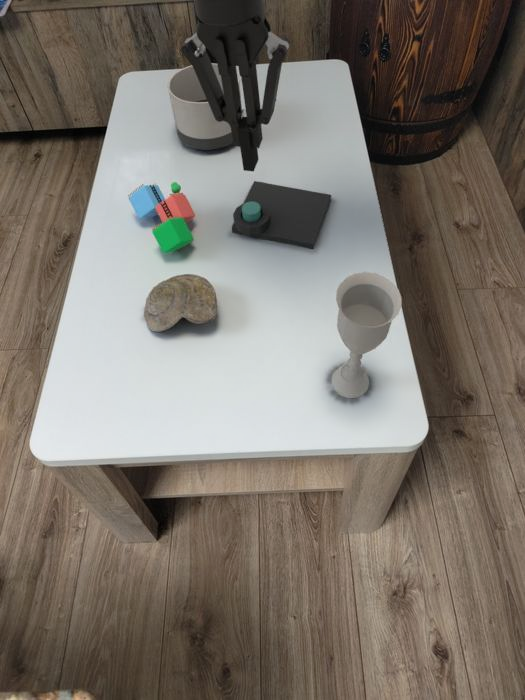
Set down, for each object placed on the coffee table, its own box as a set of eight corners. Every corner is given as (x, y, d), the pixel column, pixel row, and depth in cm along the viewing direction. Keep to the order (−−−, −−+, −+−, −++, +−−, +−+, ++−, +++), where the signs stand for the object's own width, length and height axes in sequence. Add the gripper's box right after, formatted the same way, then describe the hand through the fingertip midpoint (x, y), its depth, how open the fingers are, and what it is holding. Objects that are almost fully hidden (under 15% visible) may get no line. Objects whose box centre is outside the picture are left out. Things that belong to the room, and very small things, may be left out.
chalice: (323, 358, 69) (333, 272, 54) (372, 357, 69) (396, 271, 54) (326, 406, 66) (338, 327, 50) (378, 405, 65) (406, 326, 50)
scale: (331, 200, 86) (332, 186, 84) (311, 253, 80) (312, 240, 78) (254, 186, 89) (253, 172, 87) (229, 236, 83) (228, 223, 80)
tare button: (263, 211, 82) (262, 203, 80) (257, 224, 80) (257, 215, 79) (246, 208, 83) (245, 199, 81) (240, 220, 81) (239, 212, 80)
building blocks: (174, 257, 87) (141, 194, 86) (208, 236, 83) (174, 169, 82) (146, 265, 80) (110, 196, 79) (182, 242, 76) (144, 169, 75)
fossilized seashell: (174, 266, 77) (173, 248, 71) (230, 305, 77) (234, 291, 71) (132, 320, 75) (126, 306, 68) (190, 360, 75) (190, 351, 68)
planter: (215, 107, 103) (208, 55, 94) (257, 134, 97) (254, 81, 88) (165, 135, 98) (153, 83, 90) (206, 165, 93) (197, 112, 84)
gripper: (294, -46, 52) (301, 151, 72) (178, -45, 55) (215, 145, 74) (277, -13, 48) (289, 186, 68) (154, -14, 51) (200, 178, 71)
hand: (251, 164), depth 71 cm, fingers closed
